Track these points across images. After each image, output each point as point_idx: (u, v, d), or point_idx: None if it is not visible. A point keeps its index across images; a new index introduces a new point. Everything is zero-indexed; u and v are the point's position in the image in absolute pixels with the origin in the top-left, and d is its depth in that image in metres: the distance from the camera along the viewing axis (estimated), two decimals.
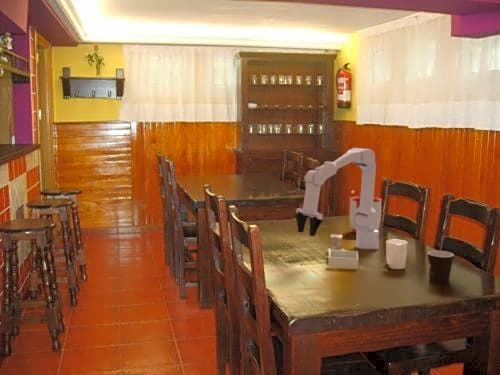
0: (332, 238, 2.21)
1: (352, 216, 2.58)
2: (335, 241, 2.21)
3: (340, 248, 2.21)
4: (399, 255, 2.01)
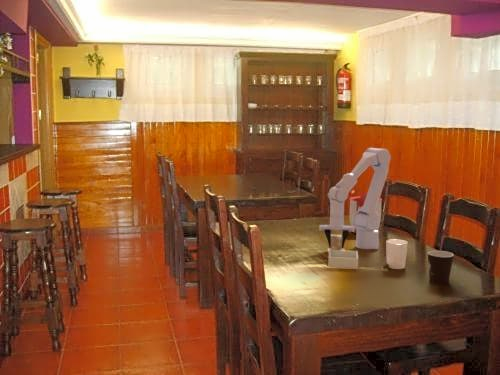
0: (332, 238, 2.21)
1: (352, 216, 2.58)
2: (335, 241, 2.21)
3: (340, 248, 2.21)
4: (399, 255, 2.01)
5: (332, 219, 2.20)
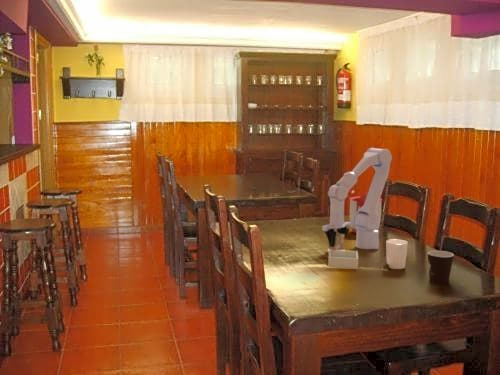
0: (337, 237, 2.20)
1: (352, 216, 2.58)
2: (339, 239, 2.21)
3: (343, 245, 2.23)
4: (399, 255, 2.01)
5: (337, 218, 2.19)
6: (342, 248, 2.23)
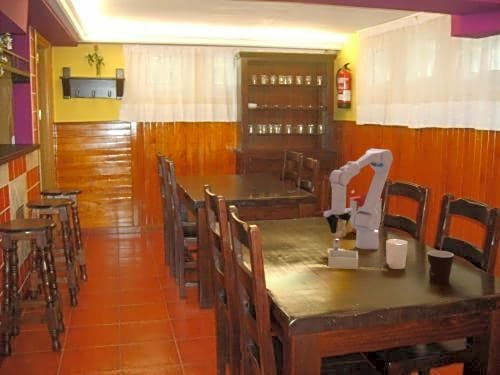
0: (339, 223, 2.16)
1: (352, 216, 2.58)
2: (341, 225, 2.17)
3: (344, 232, 2.18)
4: (399, 255, 2.01)
5: (339, 203, 2.15)
6: (344, 234, 2.18)
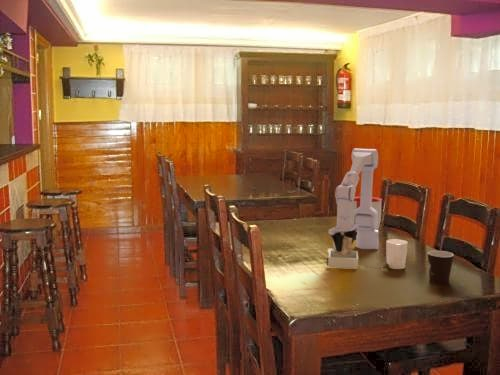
0: (344, 241, 2.05)
1: (352, 216, 2.58)
2: (347, 243, 2.06)
3: (350, 250, 2.07)
4: (399, 255, 2.01)
5: (345, 220, 2.04)
6: (349, 253, 2.07)
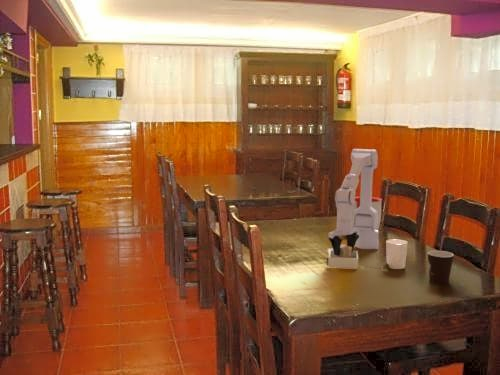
0: (344, 249, 2.05)
1: (352, 216, 2.58)
2: (346, 252, 2.06)
3: None
4: (399, 255, 2.01)
5: (344, 224, 2.04)
6: None
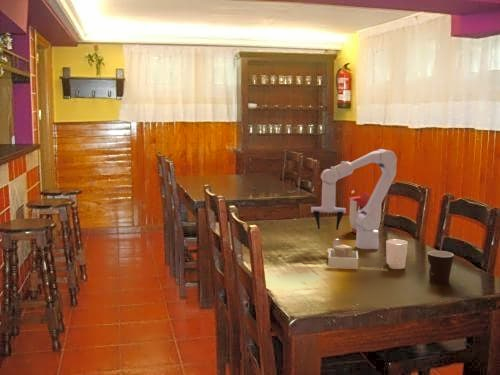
0: (344, 249, 2.05)
1: (352, 216, 2.58)
2: (346, 252, 2.06)
3: None
4: (399, 255, 2.01)
5: (324, 201, 2.24)
6: None
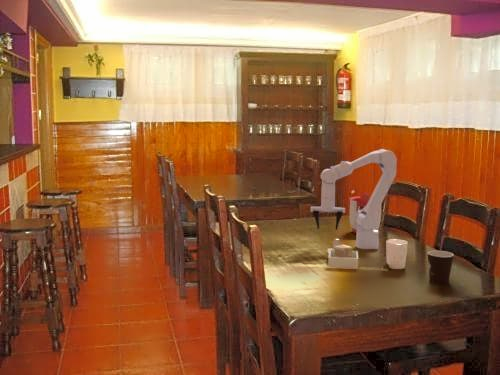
0: (344, 249, 2.05)
1: (352, 216, 2.58)
2: (346, 252, 2.06)
3: None
4: (399, 255, 2.01)
5: (323, 200, 2.25)
6: None
